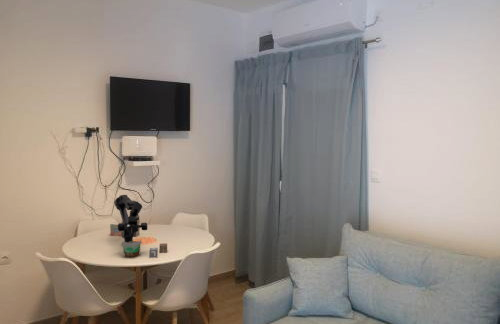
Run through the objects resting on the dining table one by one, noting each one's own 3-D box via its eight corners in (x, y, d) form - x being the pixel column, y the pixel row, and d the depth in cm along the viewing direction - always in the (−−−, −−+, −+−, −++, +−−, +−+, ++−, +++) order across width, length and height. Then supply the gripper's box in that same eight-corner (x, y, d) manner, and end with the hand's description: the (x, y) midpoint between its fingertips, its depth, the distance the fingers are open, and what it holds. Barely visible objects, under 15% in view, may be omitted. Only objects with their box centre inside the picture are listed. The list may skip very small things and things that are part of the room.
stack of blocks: (110, 235, 288) (110, 220, 287) (113, 233, 295) (113, 218, 294) (136, 237, 286) (136, 221, 285) (139, 235, 293) (139, 219, 292)
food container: (121, 258, 237) (121, 243, 237) (122, 255, 243) (122, 240, 243) (141, 257, 240) (141, 242, 239) (141, 254, 246) (141, 239, 245)
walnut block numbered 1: (159, 250, 255) (159, 243, 255) (167, 250, 256) (167, 243, 256) (159, 253, 250) (159, 245, 250) (166, 252, 251) (167, 245, 251)
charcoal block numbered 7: (149, 255, 245) (149, 247, 245) (157, 254, 246) (157, 247, 246) (149, 257, 240) (149, 250, 240) (157, 257, 241) (157, 249, 241)
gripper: (118, 211, 244) (115, 232, 234) (147, 210, 248) (145, 231, 238) (119, 220, 252) (117, 240, 242) (148, 219, 256) (146, 239, 246)
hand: (131, 238), depth 242 cm, fingers closed
